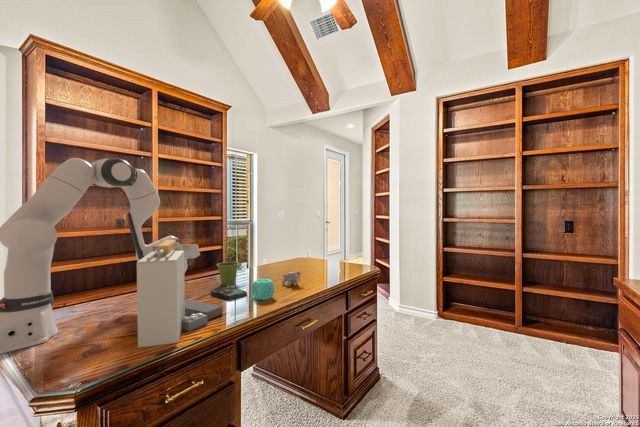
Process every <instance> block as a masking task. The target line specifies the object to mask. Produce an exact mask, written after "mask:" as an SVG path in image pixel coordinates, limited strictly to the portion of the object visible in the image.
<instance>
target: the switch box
mask: <svg viewBox="0 0 640 427" xmlns="http://www.w3.org/2000/svg"><path fill="white" fill-rule="evenodd" d="M206 324H207V325H208V320H207V315H204V314H203V313H196V314H191V316H185V317H184V318H183V319H182V330H183V331H187V332H191V331H194V330H195V329H198V328H200V327H202V326H204V325H206Z"/></svg>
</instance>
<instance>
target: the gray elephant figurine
mask: <svg viewBox="0 0 640 427" xmlns="http://www.w3.org/2000/svg"><path fill="white" fill-rule="evenodd" d="M301 275H302V274H301V272H300V271H294V272H293V271H290V272H287V273H285V274H283V275H282V277H283V279H282V281H281V285H282V286H285V284H286V282H287V284H286V286H287V287H288V288H290V287H291V284H295V286H298V284H299V283H301V278H300V277H301Z"/></svg>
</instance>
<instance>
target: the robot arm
mask: <svg viewBox="0 0 640 427" xmlns="http://www.w3.org/2000/svg"><path fill="white" fill-rule="evenodd" d="M91 186H95V187H97V188H98V187H99V188H109V189H110V188H116V187H118V188H119V187H120V188H121V189H122V190H123V191H124V193H125V195H126V197H127V199H128V201H129V205H130V210H129V212H128V213H127V221H128V228H129V231H130V235H131V238H132V242H133V245H134V248H135V258H136V262H137V261H139V260H140V259H142V258H143V257H145V256H146V255H148V254H149V253H151V252H156V251H157V246H158V245H159V244H161V243H163V242H164V241H166V240H176V242H175V245H174V246H175V248H176V249H175V251H184V274H185V273H186V271H187V270H188V261H187V259H188V260H189V259H196V258H197V257H200V256H201V252H200V251H199V249H200V248H199V244H196V243H193V244H191V243H190V244H183V243H182V241H181V240H180V239H179V237H177V236H174V235H171V234H170V235H168V236H166V237H162V238H160V239H158V240H156V241H154V242H151V243H149V244H146V243H145V240H144V236H143V232H142V226H143V224H144V223H145V222H146V221H147V220H148V219H149V218H151V216H153V215H154V214H155V213H156V212H157V211H158V209H159V208H160V205H161V199H160V194H159V193H158V191H157V189H156V187H155V185H154V183H153V181H152V179H151V178H150V176H149V175H148V174H147V172H146V171H145V170H144V169H141V168H135V167H133V166H132V165H131V163H129V162H128V161H127V160H125V159H122V158H119V157H111V158H101V159H97V160H93V161H91V162H88V161H87V160H85V159H82V158H79V157H71V158H68V159H66V160H65V161H64V162H62V163H61V164H60V165H59V166H58V167H56V168H55V169H54V171H52V172H51V174H50V175H48V177H47V178H45V180H44V182H42V184H41V185H40V187H38V189H37V190H36V191H35V192H34V193H33V194H32V196H31V197H29V198H28V199H27V201H26V202H24V203H23V204H22V205H21V206H20V207H19V208H18V209H17V210H16V211H15V212H14V213H13V214H11V216H10V217H9V218H8V219H7V220H6V221H5V222H3V224H2V225H0V243H1V245H3V247H5V248H7V257H6V263H5V267H4V268H5V269H4V270H3V293H4V296H3V297H2V298H0V355H2V354H5V353H10V352H13V351H17V350H20V349H24V348H28V347H32V346H36V345H40V344H44V343H46V342H48V340H49V339H50V338H51V337H53V336H56V335H57V333H58V332H59V328H58V327H57V325H56V321H55V317H54V313H53V307H54V294H53V290H52V289H51V288H52V285H51V284H52V282H51V278H52V277H51V276H52V275H51V272H52V271H51V268H52V261H53V257H54V250H55V244H56V243H57V240H58V232H57V229H56V228H55V226H56V225H57V224H58V223H59V222H60V221H61V220H63V218H65V217H66V216H67V215H69V214H70V213H71V211H72V210H73V209H74V207H75V206H76V205H77V204H78V202H79V201H80V199H81V198H82V197H83V196H84V194H85V193H86V191H87V190H88V188H90V187H91Z"/></svg>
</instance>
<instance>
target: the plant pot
mask: <svg viewBox="0 0 640 427" xmlns="http://www.w3.org/2000/svg"><path fill="white" fill-rule="evenodd" d="M239 264H240V262H238V261H226V262H220V263H219V262H218V263H216V266H217V269H218V272H219V278H220V283H221V285H222V286H232V285H235V284H236V279H237V270H238V267H239Z"/></svg>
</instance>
